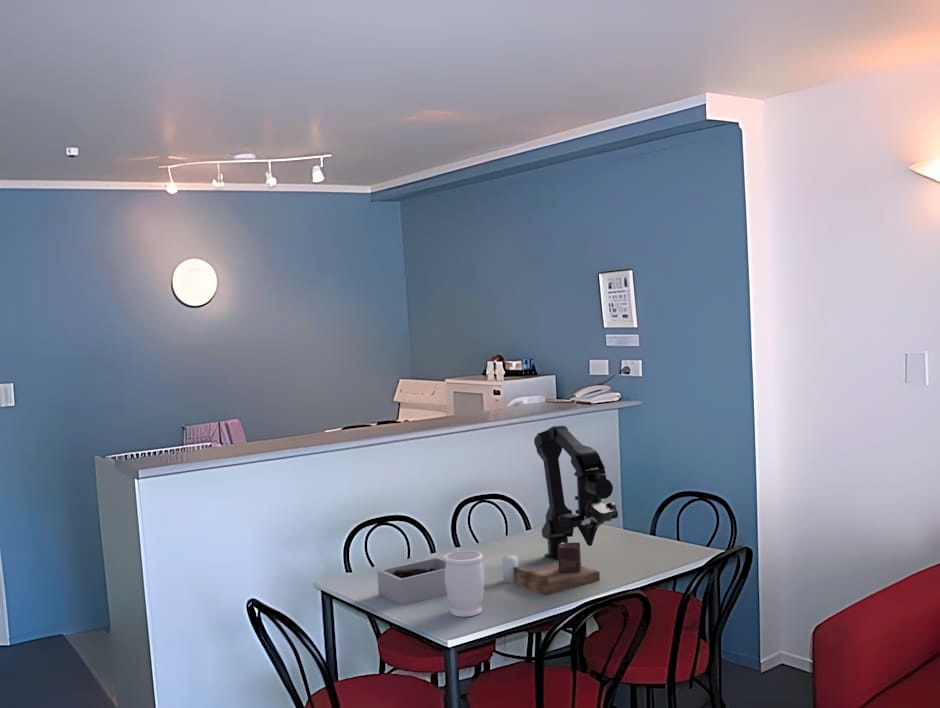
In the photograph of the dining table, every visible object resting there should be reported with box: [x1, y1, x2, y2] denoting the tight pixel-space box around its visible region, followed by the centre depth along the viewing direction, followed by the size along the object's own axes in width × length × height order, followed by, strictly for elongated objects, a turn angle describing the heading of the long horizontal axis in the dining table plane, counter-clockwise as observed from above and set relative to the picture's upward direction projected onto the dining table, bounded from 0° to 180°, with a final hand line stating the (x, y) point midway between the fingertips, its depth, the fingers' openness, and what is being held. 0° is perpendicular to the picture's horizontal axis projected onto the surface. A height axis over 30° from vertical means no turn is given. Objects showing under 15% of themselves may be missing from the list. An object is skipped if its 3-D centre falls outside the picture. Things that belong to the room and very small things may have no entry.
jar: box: [443, 550, 485, 618], centre depth 234 cm, size 11×10×15 cm
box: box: [557, 542, 582, 573], centre depth 260 cm, size 6×6×7 cm
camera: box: [393, 568, 439, 578], centre depth 254 cm, size 14×7×8 cm, turn 83°
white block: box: [501, 554, 519, 584], centre depth 260 cm, size 4×4×7 cm
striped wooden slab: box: [513, 563, 601, 596], centre depth 257 cm, size 14×20×5 cm
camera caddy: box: [376, 556, 447, 607], centre depth 254 cm, size 13×20×7 cm, turn 124°
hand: (589, 545), depth 264 cm, fingers closed
